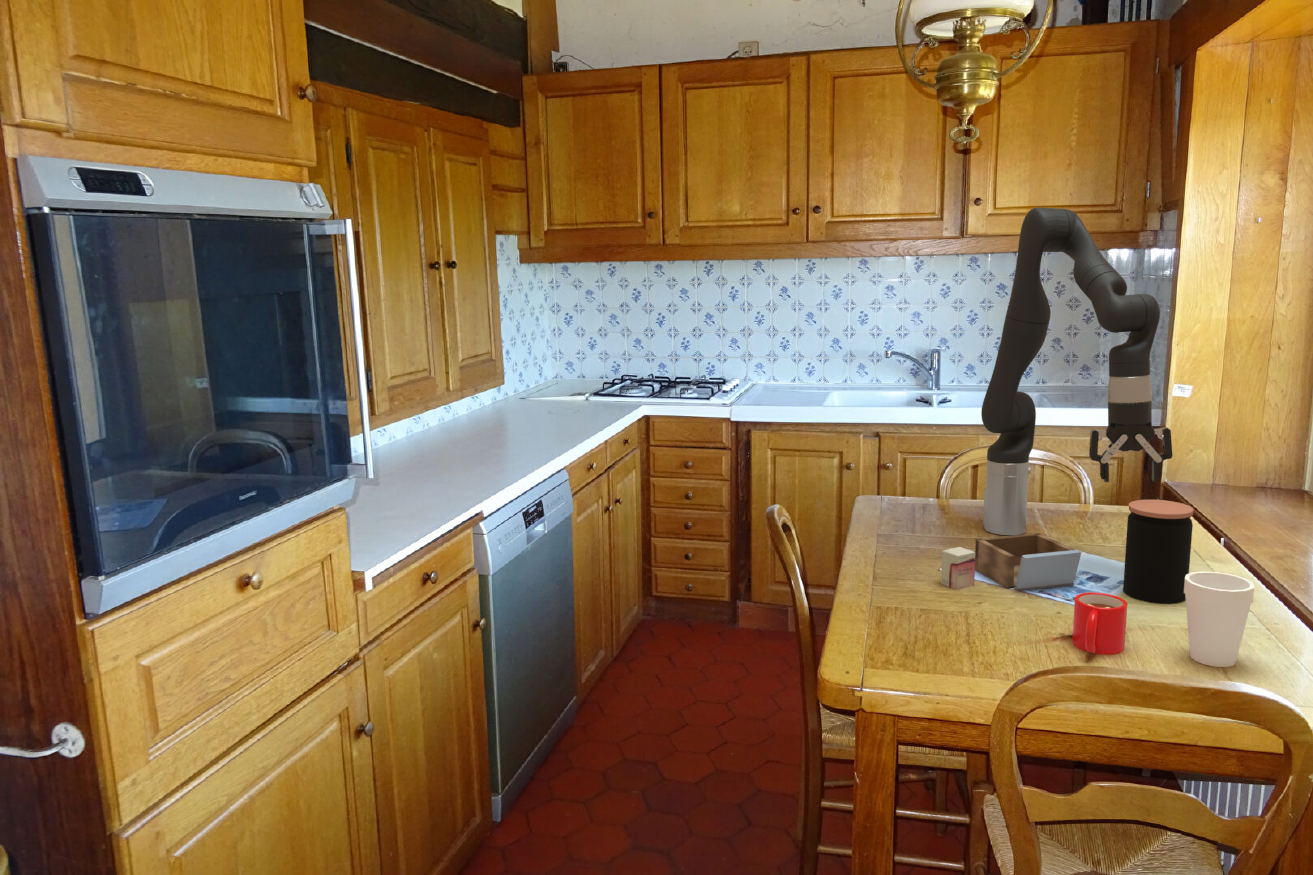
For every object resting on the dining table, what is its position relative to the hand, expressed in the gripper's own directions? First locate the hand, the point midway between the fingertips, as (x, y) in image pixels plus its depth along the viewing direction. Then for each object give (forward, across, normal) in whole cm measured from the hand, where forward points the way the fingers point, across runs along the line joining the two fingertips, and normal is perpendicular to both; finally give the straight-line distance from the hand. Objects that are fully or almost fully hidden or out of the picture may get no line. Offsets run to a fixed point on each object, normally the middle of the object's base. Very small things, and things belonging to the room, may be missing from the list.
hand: (1130, 481), depth 179 cm
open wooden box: (+19, +20, +4) cm, 28 cm away
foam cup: (+22, -6, +36) cm, 42 cm away
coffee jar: (+21, -2, +9) cm, 23 cm away
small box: (+19, +33, +12) cm, 40 cm away
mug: (+21, +11, +36) cm, 43 cm away
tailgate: (+19, +17, +10) cm, 27 cm away
